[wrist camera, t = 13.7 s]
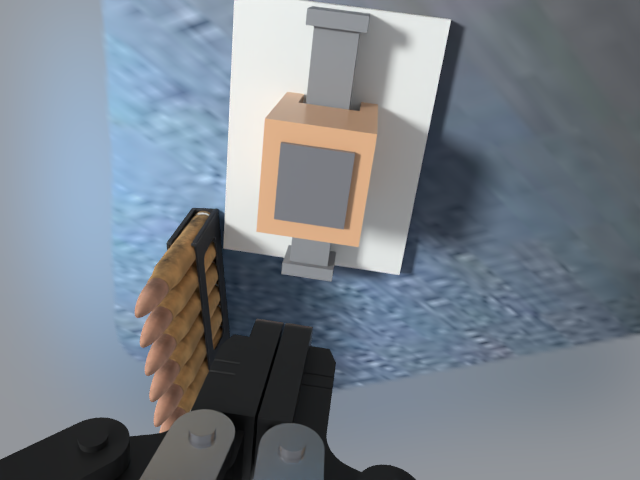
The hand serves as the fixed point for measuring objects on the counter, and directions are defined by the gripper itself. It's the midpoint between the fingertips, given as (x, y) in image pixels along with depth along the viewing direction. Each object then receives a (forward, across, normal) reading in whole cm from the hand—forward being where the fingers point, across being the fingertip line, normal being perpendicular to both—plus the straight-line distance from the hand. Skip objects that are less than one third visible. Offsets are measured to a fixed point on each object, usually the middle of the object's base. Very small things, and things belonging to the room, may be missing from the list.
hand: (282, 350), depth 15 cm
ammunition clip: (+22, +8, +11) cm, 26 cm away
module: (+21, +1, 0) cm, 21 cm away
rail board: (+22, +1, 0) cm, 22 cm away
